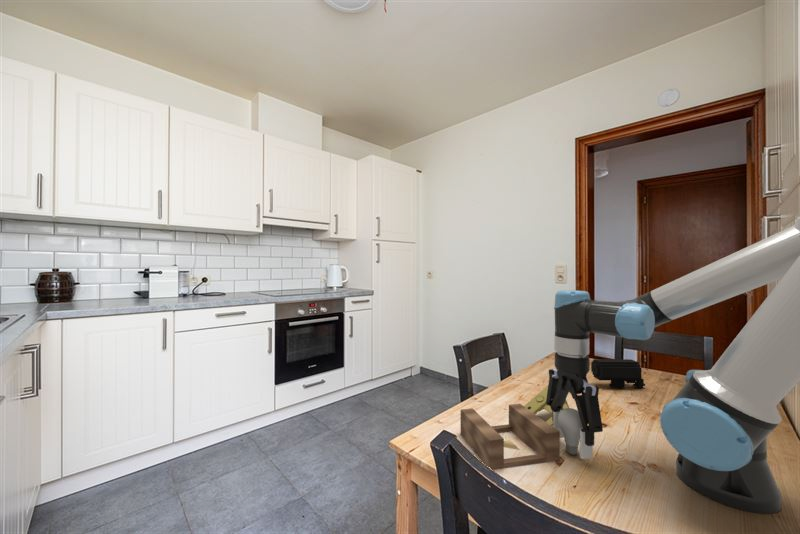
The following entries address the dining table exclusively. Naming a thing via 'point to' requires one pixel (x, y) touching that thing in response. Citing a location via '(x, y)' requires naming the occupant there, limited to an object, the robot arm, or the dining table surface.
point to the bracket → (542, 404)
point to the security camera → (618, 372)
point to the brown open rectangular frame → (492, 444)
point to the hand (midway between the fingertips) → (571, 446)
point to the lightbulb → (570, 428)
